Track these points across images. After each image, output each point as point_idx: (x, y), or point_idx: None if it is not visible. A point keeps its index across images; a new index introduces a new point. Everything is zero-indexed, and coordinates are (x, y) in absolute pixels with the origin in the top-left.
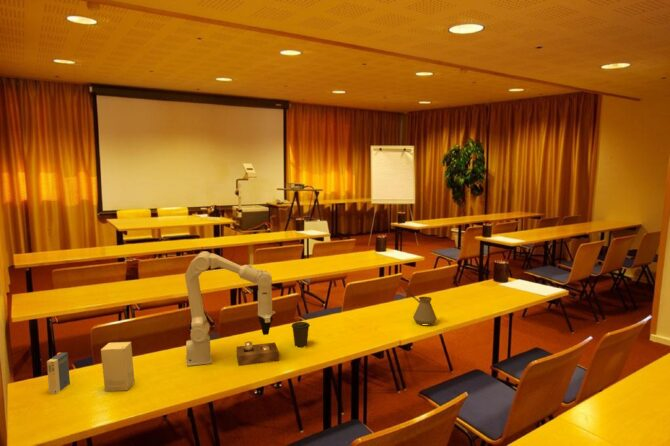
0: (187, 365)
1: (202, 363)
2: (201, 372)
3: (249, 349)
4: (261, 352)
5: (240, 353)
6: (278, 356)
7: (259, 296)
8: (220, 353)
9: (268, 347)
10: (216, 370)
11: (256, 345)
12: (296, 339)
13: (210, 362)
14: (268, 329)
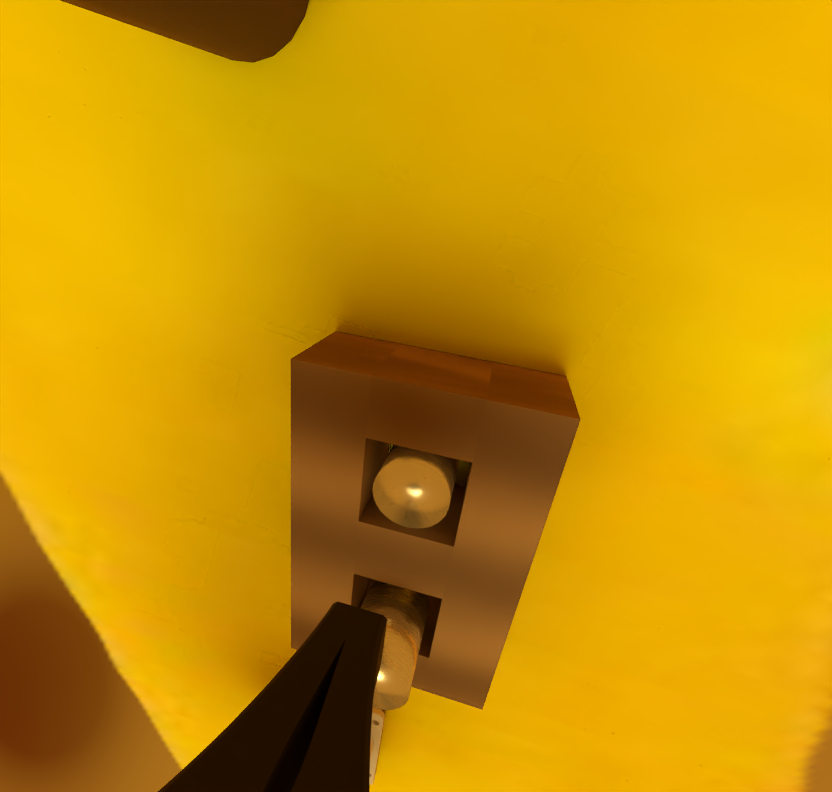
0: (372, 781)
1: (379, 744)
2: (474, 770)
3: (421, 638)
4: (506, 567)
5: (438, 681)
6: (570, 398)
7: None
8: (258, 631)
9: (416, 474)
10: (488, 726)
11: (316, 535)
12: (230, 7)
13: (383, 721)
14: (367, 716)
